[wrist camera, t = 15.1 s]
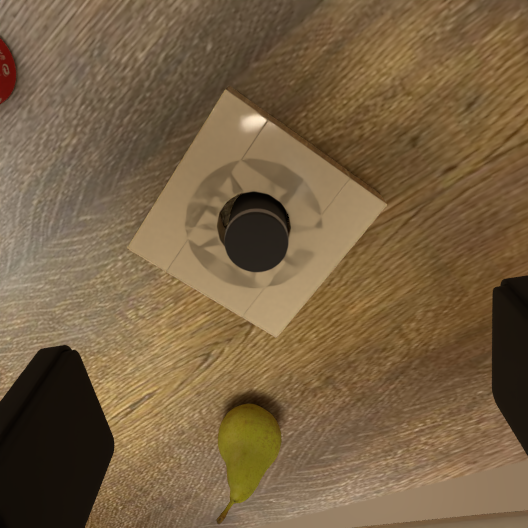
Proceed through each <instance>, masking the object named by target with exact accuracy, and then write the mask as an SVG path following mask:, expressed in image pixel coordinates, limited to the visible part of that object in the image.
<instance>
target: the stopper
mask: <svg viewBox="0 0 528 528" xmlns="http://www.w3.org/2000/svg"><path fill="white" fill-rule="evenodd" d="M224 244H225V250H226V253H227V255H228V257H229V258H230V260H231V261H232V262H233V263H234V264H235V265H236V266H238V267H239V268H241V269H243V270H246V271H249V272H264V271H268V270H270V269H272V268H274V267H276V266H277V265H278V264H279V263H280V262H281V261H282V260H283V259H284V257H285V255H286V253H287V249H288V245H289V237H288V231H287V218H286V210H285V208H284V207H283V205H282V204H281V202H279V201H278V200H276V199H275V198H273V197H272V196H270V195H269V194H265V193H260V192H255V191H253V192H247V193H243V194H242V195H240V196H239V197H238V198H237V200H236V201H235V203H234V205H233V207H232V211H231V215H230V219H229V223H228V226H227V229H226V232H225V237H224Z"/></svg>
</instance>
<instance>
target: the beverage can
mask: <svg viewBox="0 0 528 528" xmlns="http://www.w3.org/2000/svg"><path fill="white" fill-rule="evenodd" d="M15 82H16V67H15V62H14V60H13V57H12V54H11V52H10V51H9V49H8V47H7V46H6V44H5V43H4V42H3V41H2V39H1V38H0V104H1V103H3V102H4V101H5V100H6V99H7V98H8V97H9V96H10V95H11V93H12V91H13V89H14V87H15Z"/></svg>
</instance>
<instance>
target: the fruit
mask: <svg viewBox="0 0 528 528" xmlns="http://www.w3.org/2000/svg"><path fill="white" fill-rule="evenodd" d="M280 445H281V431H280V428H279V425H278V423H277V421H276V419H275V418H274V417H273V415H272V414H271V413H270V412H268V411H267V410H265V409H264V408H262V407H260V406H258V405H255V404H244V405H240V406H237V407H235V408H233V409H232V410H231V411H229V412H228V413H227V414H226V416H225V417H224V419H223V421H222V423H221V425H220V428H219V433H218V447H219V451H220V454H221V456H222V458H223V460H224V461H225V463H226V467H227V480H228V484H229V487H230V502H229V504H228V505H227V507H226V508H225V510H224V511H223V512H222V513H221V515H220V516H219V517H218V518H217V523H218V524H220V523H221V522H222V521H223V520H224V518H225V517H226V515H227V513H228V511H229V509H230V508H231V506H232V505H233V504H234V503H241V502H243V501H245V500H246V499H248V498H249V497H250V496H251V495H252V493H253V492H254V491H255V489H256V488H257V486H258V484H259V482H260V480H261V478H262V477H263V475H264V474H265V472H266V470H267V469H268V468H269V467H270V465H271V464H272V463H273V462H274V461H275V459H276V457H277V455H278V453H279V450H280Z"/></svg>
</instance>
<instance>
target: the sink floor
mask: <svg viewBox="0 0 528 528" xmlns="http://www.w3.org/2000/svg"><path fill="white" fill-rule="evenodd" d="M253 191H255V192H260V193H265V194H269V195H270V196H272V197H273V198H275V199H276V200H278V201H279V202H281V204H282V205H283V207H284V208H285V210H286V211H287V213H288V214H289V220H288V224H287V231H288V237H289V245H288V249H287V253H286V255H285V257H284V259H283V260H282V261H281V262H280V263H279V264H278V265H277V266H276V267H274V268H272V269H270V270H268V271H264V272H249V271H246V270H243V269H241V268H239V267H238V266H236V265H235V264H234V263H233V262H232V261H231V260H230V258H229V257H228V255H227V253H226V250H225V244H224V237H225V232H226V229H225V228H224V226H223V222H222V217H221V210H222V208H223V207H224V206H225V204H226V203H227V201H229V200H230V199H232V198H234V197H235V196H237V195H238V194H242V193H247V192H253ZM386 206H387V204H386V202H385V201H384V199H383V198H382V196H381V195H380V193H379V192H377V191H376V190H374V189H373V188H372V187H370V186H369V185H368V184H366V183H365V182H363V181H362V180H361V179H359V178H358V177H356V176H355V175H354V174H352V173H351V172H349V171H348V170H347V169H345V168H344V167H342V166H341V165H340V164H338V163H337V162H335V161H334V160H333V159H331V158H330V157H329V156H327V155H326V154H324V153H323V152H322V151H320V150H319V149H317V148H316V147H315V146H313V145H312V144H310V143H309V142H308V141H306V140H305V139H303V138H302V137H301V136H299V135H298V134H296V133H295V132H294V131H292V130H291V129H289V128H288V127H287V126H285V125H284V124H282V123H281V122H280V121H278V120H277V119H276V118H274V117H273V116H271V115H270V114H268V113H267V112H266V111H264V110H263V109H262V108H260V107H259V106H257V105H256V104H255V103H253V102H252V101H250V100H249V99H248V98H246V97H245V96H243V95H242V94H241V93H239V92H238V91H236V90H235V89H234V88H232V87H231V86H228V87H227V88H226V89H225V90H224V92H223V94H222V95H221V97H220V98H219V100H218V102H217V103H216V105H215V107H214V108H213V110H212V111H211V113H210V115H209V116H208V118H207V119H206V121H205V123H204V124H203V126H202V128H201V129H200V131H199V132H198V134H197V136H196V137H195V139H194V140H193V142H192V144H191V145H190V147H189V149H188V150H187V152H186V153H185V155H184V157H183V158H182V160H181V161H180V163H179V165H178V166H177V168H176V170H175V171H174V173H173V174H172V176H171V178H170V179H169V181H168V182H167V184H166V186H165V187H164V189H163V191H162V192H161V194H160V195H159V197H158V199H157V200H156V202H155V203H154V205H153V207H152V208H151V210H150V211H149V213H148V215H147V216H146V218H145V220H144V221H143V223H142V224H141V226H140V228H139V229H138V231H137V232H136V234H135V236H134V237H133V239H132V241H131V242H130V244H129V245H128V247H127V249H128V250H130V251H132V252H133V253H135V254H137V255H138V256H140V257H142V258H143V259H145V260H147V261H148V262H150V263H152V264H154V265H155V266H157V267H159V268H160V269H162V270H164V271H165V272H167V273H168V274H170V275H172V276H173V277H175V278H177V279H178V280H180V281H182V282H183V283H185V284H187V285H188V286H190V287H192V288H193V289H195V290H197V291H198V292H200V293H202V294H203V295H205V296H207V297H209V298H210V299H212V300H214V301H215V302H217V303H219V304H220V305H222V306H224V307H225V308H227V309H229V310H230V311H232V312H234V313H235V314H237V315H239V316H240V317H242V318H244V319H246V320H247V321H249V322H251V323H252V324H254V325H256V326H257V327H259V328H261V329H262V330H264V331H266V332H267V333H269V334H271V335H272V336H274V337H276V338H277V337H278V336H279V334H280V333H281V332H282V331H283V330H284V328H285V327H286V326H287V325H288V324H289V322H290V321H291V320H292V319H293V318H294V316H295V315H296V314H297V313H298V312H299V310H300V309H301V308H302V307H303V306H304V304H305V303H306V302H307V301H308V300H309V298H310V297H311V296H312V295H313V294H314V292H315V291H316V290H317V289H318V288H319V286H320V285H321V284H322V283H323V282H324V280H325V279H326V278H327V277H328V276H329V274H330V273H331V272H332V271H333V270H334V268H335V267H336V266H337V265H338V264H339V262H340V261H341V260H342V259H343V258H344V256H345V255H346V254H347V253H348V252H349V250H350V249H351V248H352V247H353V246H354V244H355V243H356V242H357V241H358V240H359V238H360V237H361V236H362V235H363V234H364V232H365V231H366V230H367V229H368V228H369V226H370V225H371V224H372V223H373V222H374V220H375V219H376V218H377V217H378V216H379V214H380V213H381V212H382V211H383V210H384V208H385V207H386Z"/></svg>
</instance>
